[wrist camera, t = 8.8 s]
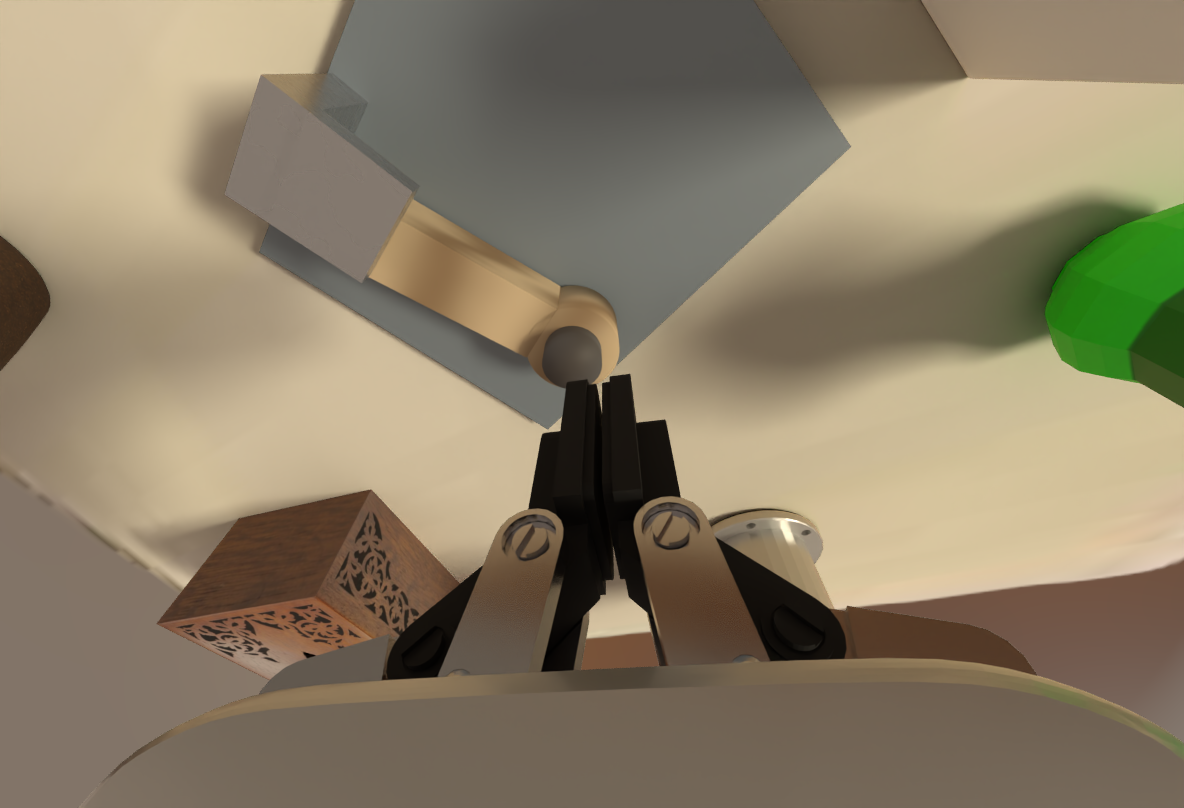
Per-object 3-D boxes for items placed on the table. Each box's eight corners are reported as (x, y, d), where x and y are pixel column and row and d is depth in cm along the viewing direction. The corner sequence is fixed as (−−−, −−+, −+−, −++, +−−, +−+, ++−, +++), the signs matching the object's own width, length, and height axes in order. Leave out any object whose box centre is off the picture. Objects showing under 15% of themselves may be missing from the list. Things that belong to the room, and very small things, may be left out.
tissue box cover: (241, 516, 40) (156, 623, 33) (372, 487, 38) (315, 596, 30) (393, 633, 56) (361, 725, 48) (494, 618, 53) (477, 713, 45)
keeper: (409, 238, 24) (361, 283, 19) (308, 165, 22) (224, 194, 17) (453, 163, 22) (412, 191, 17) (345, 73, 20) (261, 74, 15)
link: (633, 314, 26) (640, 352, 22) (587, 374, 28) (587, 416, 25) (370, 154, 20) (325, 171, 17) (345, 247, 23) (301, 278, 20)
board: (549, 419, 33) (547, 429, 32) (271, 245, 24) (259, 252, 23) (839, 143, 21) (851, 146, 20) (506, -348, 13) (499, -380, 12)
